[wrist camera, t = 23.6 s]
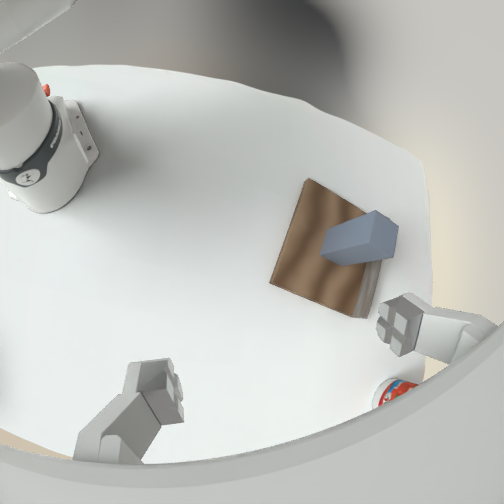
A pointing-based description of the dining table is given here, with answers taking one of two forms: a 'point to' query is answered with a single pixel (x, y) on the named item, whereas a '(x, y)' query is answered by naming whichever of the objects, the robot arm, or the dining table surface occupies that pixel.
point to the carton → (360, 240)
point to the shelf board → (317, 267)
